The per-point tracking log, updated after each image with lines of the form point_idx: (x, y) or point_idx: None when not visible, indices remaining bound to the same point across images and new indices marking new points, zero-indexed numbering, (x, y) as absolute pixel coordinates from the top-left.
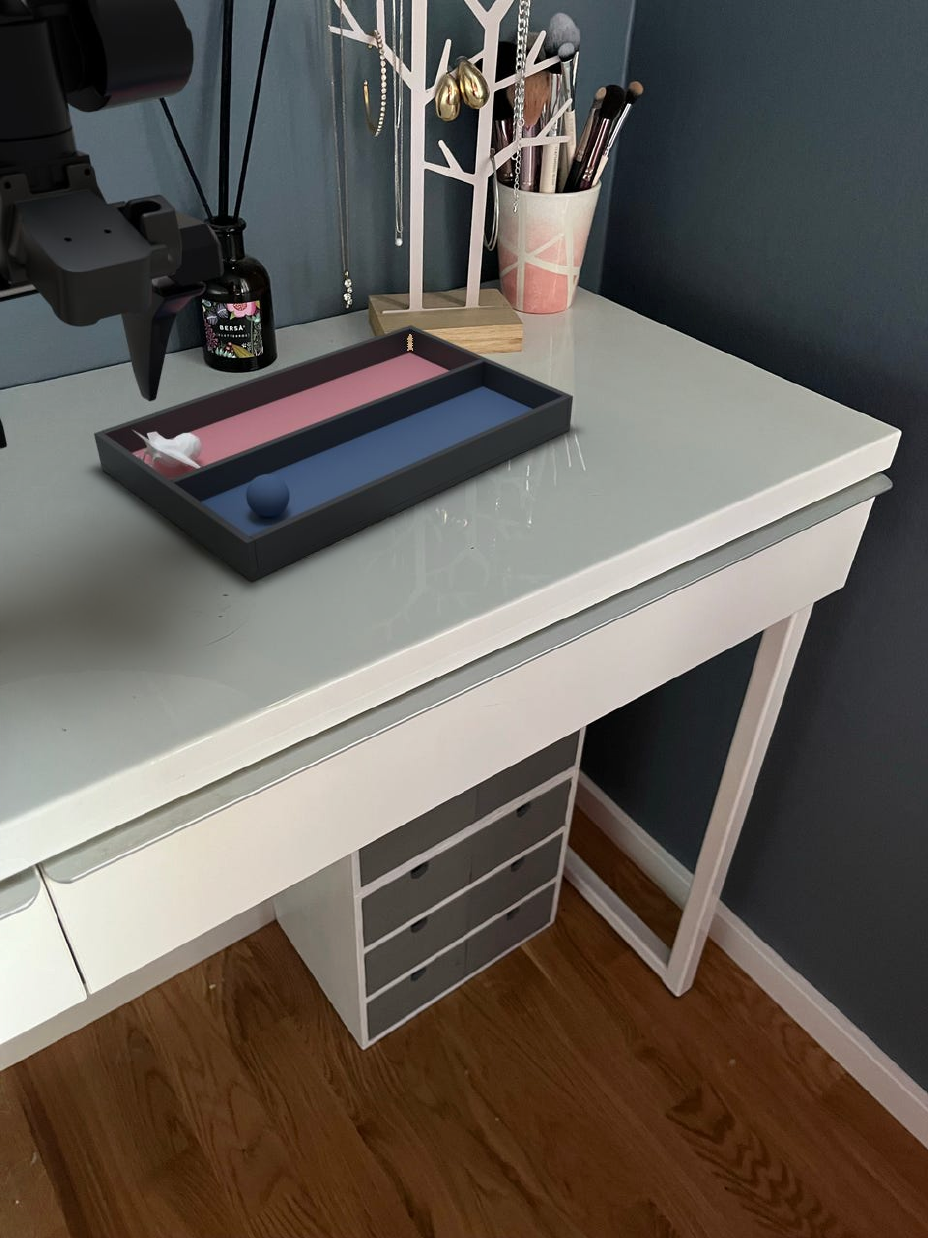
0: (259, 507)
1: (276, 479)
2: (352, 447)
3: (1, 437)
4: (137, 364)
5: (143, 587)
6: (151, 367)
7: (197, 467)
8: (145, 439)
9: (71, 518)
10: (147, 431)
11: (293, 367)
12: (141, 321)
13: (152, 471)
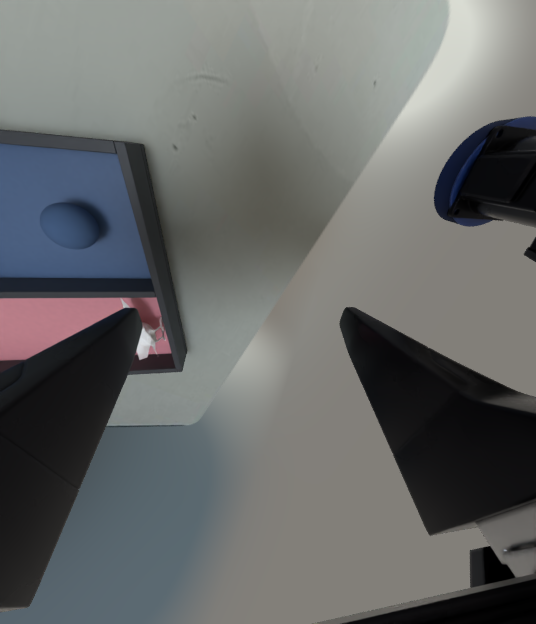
0: (88, 215)
1: (45, 223)
2: None
3: (358, 313)
4: (119, 363)
5: (228, 216)
6: (94, 337)
7: (125, 304)
8: (153, 343)
9: (226, 319)
10: (145, 362)
11: None
12: (34, 441)
13: (164, 314)
